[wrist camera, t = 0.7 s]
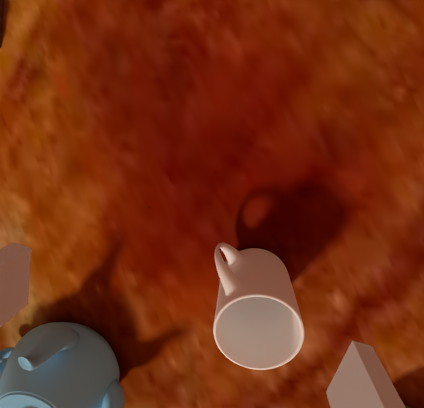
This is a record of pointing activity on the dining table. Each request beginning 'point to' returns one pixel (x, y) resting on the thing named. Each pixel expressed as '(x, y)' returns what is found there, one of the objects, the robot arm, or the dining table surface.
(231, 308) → the mug
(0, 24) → the rail
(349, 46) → the dining table surface
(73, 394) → the teapot
